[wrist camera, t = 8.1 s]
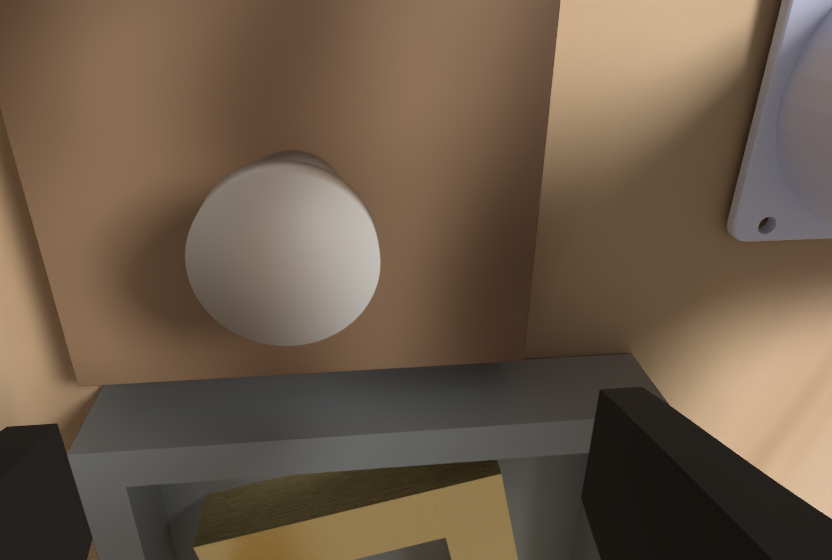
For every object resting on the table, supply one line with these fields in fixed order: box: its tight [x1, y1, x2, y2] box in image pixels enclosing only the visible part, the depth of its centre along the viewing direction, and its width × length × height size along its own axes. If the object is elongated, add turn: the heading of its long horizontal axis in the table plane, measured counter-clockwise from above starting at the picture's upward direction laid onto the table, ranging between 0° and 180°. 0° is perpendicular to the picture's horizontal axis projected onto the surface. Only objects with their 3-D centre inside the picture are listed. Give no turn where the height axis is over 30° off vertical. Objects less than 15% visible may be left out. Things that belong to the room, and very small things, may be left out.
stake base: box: [0, 0, 560, 386], centre depth 14 cm, size 12×10×5 cm
